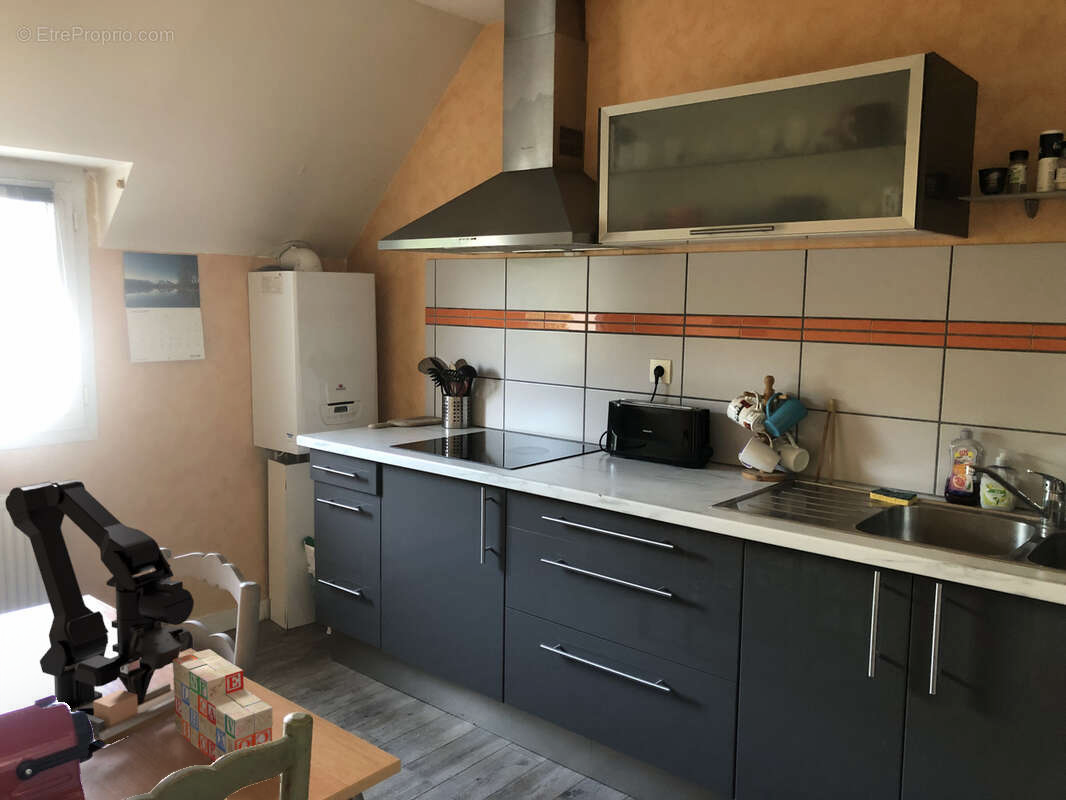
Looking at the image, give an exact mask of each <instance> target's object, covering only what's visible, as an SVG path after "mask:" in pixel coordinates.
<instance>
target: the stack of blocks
mask: <svg viewBox="0 0 1066 800" xmlns="http://www.w3.org/2000/svg"><path fill="white" fill-rule="evenodd" d="M172 669H173V671H172V672H173V679H172V680H173V690H174V694H175V715H174V723H175V730H176V731H177V732H178V733H180V734H181V736H183V737H184V738H185V739H186V740H187V741H188V742H189V743H190V744H192V745H193V746H194V747H195V748H196V749H198V750H199V751H201V752H202V753H203V754H204V755H206V756H207V757H208V758H210V760H212V761H213V762H214V761H215V760H216V759H218V758H219V757H221V756H223V755H225V754H227V753H230V752H233V751H235V750H238V749H241V748H245V747H249V746H254V745H258V744H262V743H265V742H269V741H272V742H273V728H272V727H273V725H274V722H273V720H274V719H273V707H272V706H271V705H270V704H268V703H266V702H265V701H263V700H262V699H261V698H259V697H258V696H256V695H254V694H253V693H252V692H250V691H248V690H247V689H245V688H244V687H245V685H244V670H243V669H242V668H240V667H238V666H237V665H235V664H233V663H231V662H230V661H228V660H227V659H225V658H223V657H222V656H220V655H219V654H217V653H216V652H215V651H213V650H211V649H204V650H201V651H197V652H194V653H192V654H187V655H184V656H183V655H182V656H181V657H180V656H179V658H176V659H173V663H172Z"/></svg>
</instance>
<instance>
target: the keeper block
mask: <svg viewBox="0 0 1066 800" xmlns="http://www.w3.org/2000/svg"><path fill="white" fill-rule="evenodd" d="M92 702H93V715H94V717H96V718H99V719H102V720H104V721H105V729H108V728H110V727H112V726H114V725H116V724H118V723H120V722H123V721H125V720H127V719H129V718H131V717H133V716H135V715H137V714H138V704H137V694H134V693H131V692H128V691H127V690H126V689H125V690H124V689H122V688H121V689H119V690H115V691H114V692H112V693H111V692H110V693H109V694H106V695H105V696H102V697H100V698H98V699H95V700H93V701H92Z"/></svg>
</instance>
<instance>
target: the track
mask: <svg viewBox="0 0 1066 800" xmlns="http://www.w3.org/2000/svg"><path fill="white" fill-rule="evenodd" d="M85 714H86V715H87V716H88V718H89V720H90V722H91V725H92V728H93V733H94V739H95V740H102V741H103V742H104V743H106V744H112V743H114V742H116V741H118V740H121V739H123V738H126V737H127V736H130V735H132V734H134V733H136V734H138V733H140V732H142V731H144V730H146V729H149V728H150V727H152V726H154V725H156V724H158V723H160V722H162V721H164V719H165V720H166V718H167V719H169V718H171V717H172V715H173V716H175V715H174V714H175V694H174V689H171V683H170V682H164V683H162V684H160V685H157V686H155V687H153V688H152V689H149V690H147V693H146V695H145V698H144V701H143V703H142V704H140V705H138V714H137V715H135V716H133V717H131V718H129V719H127V720H125V721H123V722H120V723H118V724H116V725H114V726H112V727H110V728H108V729H105V721H104V720H102V719H99V718H96V717H94V714H93V715H91V714H87V713H85ZM170 716H171V717H170ZM168 717H169V718H168ZM153 724H154V725H153ZM143 729H144V730H143ZM141 730H142V731H141ZM139 731H140V732H139ZM137 732H138V733H137ZM134 735H135V734H134ZM132 736H133V735H132ZM130 737H131V736H130ZM126 739H127V738H126Z"/></svg>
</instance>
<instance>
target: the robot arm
mask: <svg viewBox="0 0 1066 800" xmlns="http://www.w3.org/2000/svg"><path fill="white" fill-rule="evenodd" d="M4 504H5V508H6V511H7V513H8V514H9V516H10V519H11V520H12V521H11V522H12V523H13V525H14V527H15V528H17V529H18V530H20V532H21V533H23V535H25V536H26V537H28V538H29V541H30V544H31V548H32V551H33V553H34V557H35V561H36V563H37V566H38V569H39V573H40V576H41V580H42V582H43V586H44V588H45V592H46V595H47V598H48V601H49V605H50V608H51V612H52V614H53V619H52V622H51V625H50V629H49V633H48V638H49V644H50V647H49V648H48V649H47V651H46V652H45V654H44V655H43V656H42V657H41V658H40V659H39V664H40V668H41V672H42V673H44V674H47V675H50V676H53V679H54V696H56V697H57V700H58V702H65V703H67V704H68V705H69V706H70V708H71V710H70V711H72V710H74V709H77V708H79V707H81V706H84V705H86V704H88V703H90V702H93V701H95V700H97V699H100V698H102V697H103V693H102V692H100V691H97V690H96V689H95V687H96V688H98V687H103V686H106V685H108V684H110V683H113V682H115V681H117V680H118V679H119V680H120V681H121V683H122V684H123V687H124V688H125V690H126V691H128V692H131V693H134V694H137V704H138V705H140V704H142V703H143V701H144V698H145V695H146V693H147V691H148V688H149V685H150V683H151V680H152V678H153V676H154V675H155V674H154V673H155V671H156V670H160V669H161V670H162V669H163V668H164V667H166V666H168V665H172V664H173V659H176V658H179V657H180V654H181V653H182V652H183V653H184V652H186V651H187V650H190V649H192V648H194V636H193V634H192V633H191V632H190V631H189V630H188V629H186V628H185V627H183V626H180V627H175V626H179V625H181V624H183V623H185V622H186V621H187V620H188V619H189V617H190V616H191V615H192V613H193V609H194V604H195V603H194V602H195V601H194V598H193V595H192V593H191V592H190V591H188V589H186V588H184V583H183V581H180V580H170V578H173V577H174V573H173V571H172V569H171V565H170V564H169V562H168V561H167V560H166V558H165V556H164V554H163V552H162V550H161V549H160V546H159V544H158V542H157V541H156V540H155V539H154V538H153V537H151V536H150V535H149V534H148V533H145V532H144V531H142V530H141V529H138V528H134V527H131V526H126V525H125V524H123V523H122V522H121V521H120V520H119V519H118V518H117V517H115V516H114V514H112V513H111V512H110V511H109V510H108V509H107V508H106V507H105V506H104V505H103V504H101V503H100V501H98V499H96V498H95V497H94V496H93V495H92V494H91V493H90V492H88V490H86V487H85V485H84V483H83V481H81V480H80V479H74V478H72V479H68V480H62V481H61V480H60V481H57V482H56V481H55V482H53V481H43V482H39V483H33V484H28V485H22V486H15V487H13V488H12V489H11V490H10V491H9V493H8V495H7V496H6V498H5V503H4ZM65 516H66V517H67V518H69V520H70V521H72V522H73V523H74V524H75V525H76V527H78V528H79V529H80V530H81V531H82V533H84V534H85V535H86V536H87V537H88V538H89V540H92V542H93V543H94V544H96V546H97V547H98V549H99V552H100V553H99V554H100V561H101V562H102V564H103V565H104V566H105V568H106V569H107V570H108V571H109V573H110V574H111V575H112V577H111V578H109V579H108V580H107V581H106V582H105V583H106V586H107V587H111V588H115V607H116V609H115V610H116V611H115V612H116V619H114V620H111V621H110V622H111V628H112V629H116V638H117V639H116V640H117V641H116V642H117V643H114V644H112V645H111V647H112V652H115V653H117V655H116V656H114V657H111V658H109V657H106V656H105V654H106V651H107V647H108V644H109V636H108V633H109V630H108V629H107V627H106V624H105V621H104V616H103V614H102V612H100V611H95V612H93V610H91V609H90V608H89V607H87V605H86V603H85V600H84V598H83V594H82V591H81V588H80V584H79V582H78V578H77V575H76V572H75V569H74V566H73V562H72V560H71V557H70V554H69V550H68V547H67V543H66V541H65V538H64V535H63V530H62V525H63V521H64V518H65ZM153 569H154V570H153ZM151 570H153V571H151ZM149 571H150V572H149ZM145 572H148V573H145ZM143 573H144V574H143ZM138 574H141V575H138ZM162 623H164V624H168V625H172V626H169V627H166V628H164V629H163V627H162Z"/></svg>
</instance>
